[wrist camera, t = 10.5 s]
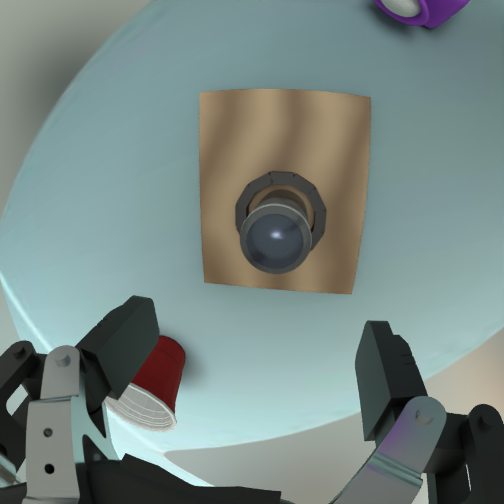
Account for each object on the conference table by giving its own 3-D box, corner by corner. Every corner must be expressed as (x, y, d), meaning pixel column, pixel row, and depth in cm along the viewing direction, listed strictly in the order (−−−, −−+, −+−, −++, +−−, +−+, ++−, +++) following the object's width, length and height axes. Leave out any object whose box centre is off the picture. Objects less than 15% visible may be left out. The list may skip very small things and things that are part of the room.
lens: (309, 190, 24) (314, 208, 17) (306, 240, 26) (308, 278, 19) (256, 187, 25) (238, 204, 17) (255, 237, 27) (238, 273, 19)
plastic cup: (184, 385, 39) (156, 443, 28) (129, 347, 38) (89, 398, 27) (217, 354, 35) (189, 423, 24) (152, 307, 34) (103, 365, 23)
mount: (367, 99, 21) (375, 93, 18) (349, 288, 28) (354, 302, 26) (204, 94, 23) (193, 88, 21) (207, 277, 31) (199, 289, 28)
